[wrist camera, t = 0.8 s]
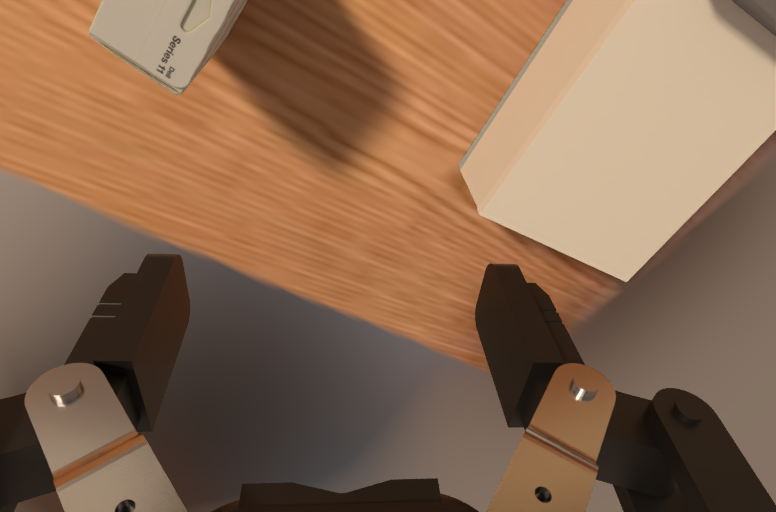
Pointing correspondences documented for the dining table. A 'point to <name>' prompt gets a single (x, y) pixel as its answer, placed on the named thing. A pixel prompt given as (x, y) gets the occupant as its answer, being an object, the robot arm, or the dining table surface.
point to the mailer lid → (644, 131)
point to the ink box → (165, 35)
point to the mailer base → (535, 90)
